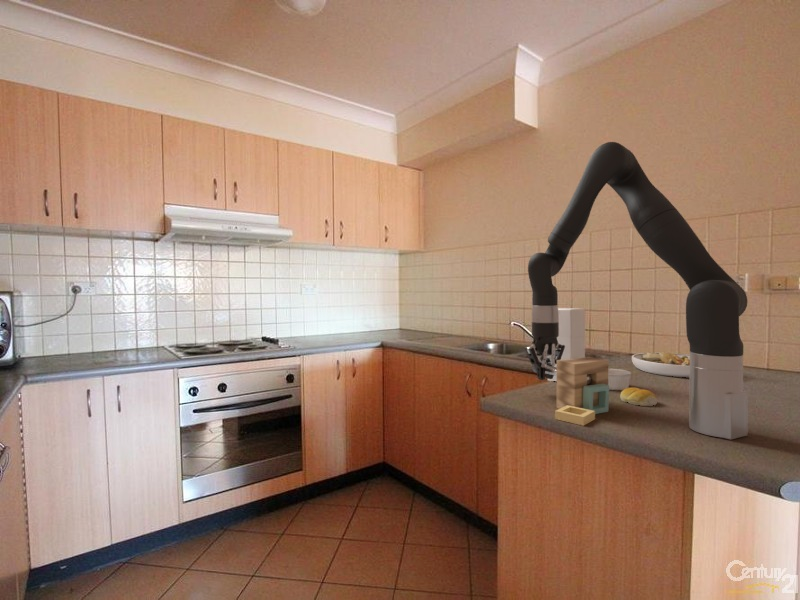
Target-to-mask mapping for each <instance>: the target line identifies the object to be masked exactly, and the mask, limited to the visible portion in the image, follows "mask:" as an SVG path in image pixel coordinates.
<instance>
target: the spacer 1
mask: <svg viewBox="0 0 800 600" xmlns="http://www.w3.org/2000/svg"><path fill="white" fill-rule="evenodd" d="M554 419H555V420H559V421H562V422H566V423H571V424H574V425H579V426H582V427H584V426H585V425H587V424H589V423H591V422H592V421H595V419H596V414H595V411H593V410H588V409H583V408H579V407H574V406H569V405H567V406H565V407H562V408H560V409H559V408H557V409H556V410H554Z"/></svg>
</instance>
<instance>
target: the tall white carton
mask: <svg viewBox="0 0 800 600" xmlns="http://www.w3.org/2000/svg"><path fill="white" fill-rule="evenodd" d="M558 313H559V336H558V337H557V341H558V343H559V344H561V345H564V346H565V349H564V351H563V354H562V357H561V360H564V359H574V358H584V357H586V309H585V308H583V307H582V308H581V307H579V308H576V307H574V308H573V307H558ZM556 358H557V356H556ZM554 367H557V364H555V366H554ZM551 381H557V376H553V379H548V378H547V382H551Z"/></svg>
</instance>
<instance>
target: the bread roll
mask: <svg viewBox="0 0 800 600" xmlns="http://www.w3.org/2000/svg"><path fill="white" fill-rule="evenodd" d="M658 399H659V398H658V397H657V395H656V394H655V393H653V392H652V391H651V390H647V389H644V388H643V389H641V388H639V387H628V388H626V389H624V390H621V392H620V400H621V401H622V402H624V403H627V402H628V404H629V405H634V406H638V405H640V406H639V407H653V405H654V406H656V405H657V404H658V401H659V400H658Z"/></svg>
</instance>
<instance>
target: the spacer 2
mask: <svg viewBox="0 0 800 600" xmlns="http://www.w3.org/2000/svg"><path fill="white" fill-rule="evenodd" d="M594 392H599V405H597V406H593V393H594ZM609 400H610V390H609V385H606V384H596V385H589V386H583V409H588V410H593V411H595V415H597V414H602V413H603V414H604V413H608V412H609V409H610V408H609V407H610V405H609V403H610V401H609Z"/></svg>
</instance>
